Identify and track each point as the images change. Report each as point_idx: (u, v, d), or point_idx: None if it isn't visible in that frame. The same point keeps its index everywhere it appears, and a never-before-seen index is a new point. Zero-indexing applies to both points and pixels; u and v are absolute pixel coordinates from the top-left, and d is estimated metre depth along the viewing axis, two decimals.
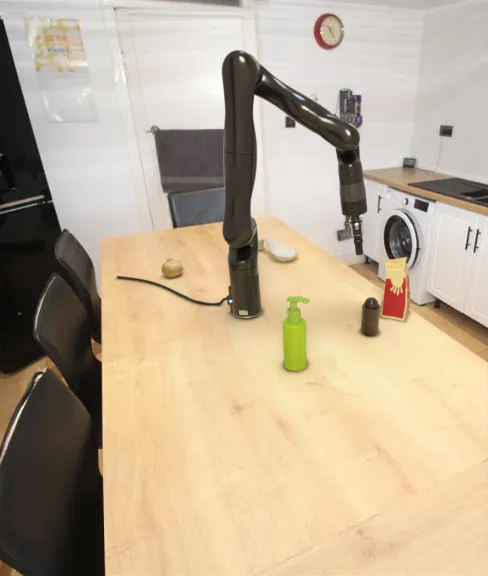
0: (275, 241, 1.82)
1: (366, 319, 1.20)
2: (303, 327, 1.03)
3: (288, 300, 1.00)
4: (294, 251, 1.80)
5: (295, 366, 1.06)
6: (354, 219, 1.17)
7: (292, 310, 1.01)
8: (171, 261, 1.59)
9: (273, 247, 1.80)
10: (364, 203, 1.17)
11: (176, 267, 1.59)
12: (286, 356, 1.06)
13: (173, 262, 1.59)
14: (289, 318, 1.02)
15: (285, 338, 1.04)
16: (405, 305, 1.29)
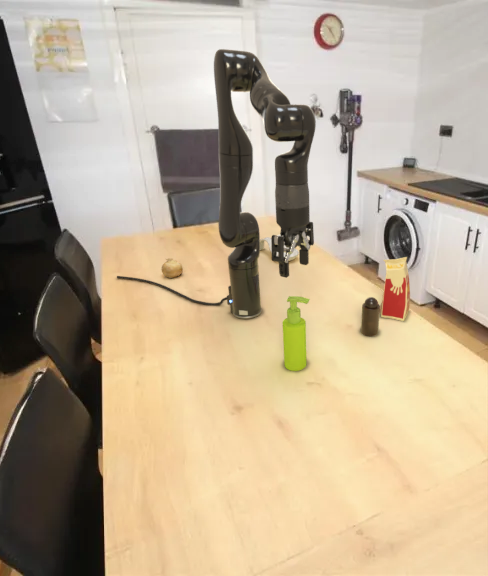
0: None
1: (366, 319, 1.20)
2: (303, 327, 1.03)
3: (288, 300, 1.00)
4: (294, 251, 1.80)
5: (295, 366, 1.06)
6: (282, 231, 0.90)
7: (292, 310, 1.01)
8: (171, 261, 1.59)
9: None
10: (298, 214, 0.88)
11: (176, 267, 1.59)
12: (286, 356, 1.06)
13: (173, 262, 1.59)
14: (289, 318, 1.02)
15: (285, 338, 1.04)
16: (405, 305, 1.29)
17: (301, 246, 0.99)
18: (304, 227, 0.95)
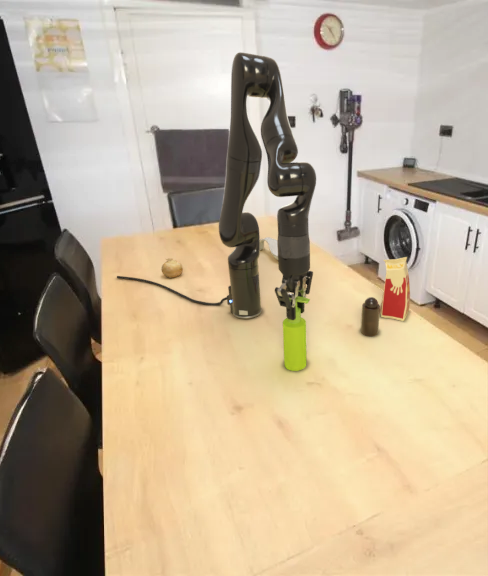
0: (275, 241, 1.82)
1: (366, 319, 1.20)
2: (303, 327, 1.03)
3: None
4: None
5: (295, 366, 1.06)
6: (284, 278, 0.95)
7: None
8: (171, 261, 1.59)
9: (273, 247, 1.80)
10: (299, 263, 0.93)
11: (176, 267, 1.59)
12: (286, 356, 1.06)
13: (173, 262, 1.59)
14: None
15: (285, 338, 1.04)
16: (405, 305, 1.29)
17: (297, 294, 1.02)
18: (305, 272, 1.00)
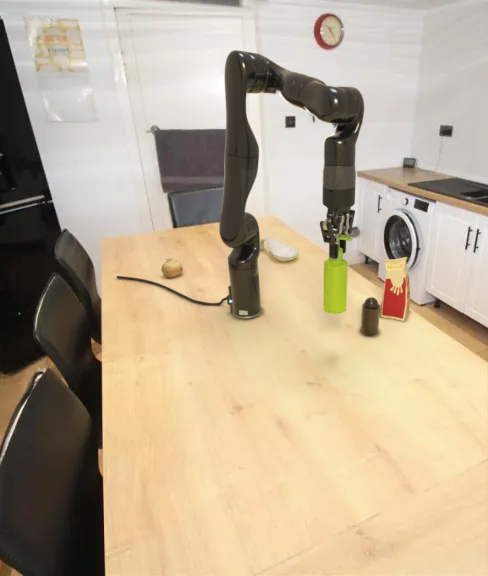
0: (275, 241, 1.82)
1: (366, 319, 1.20)
2: (345, 267, 1.00)
3: None
4: (294, 251, 1.80)
5: (336, 309, 1.04)
6: (329, 211, 0.92)
7: None
8: (171, 261, 1.59)
9: (273, 247, 1.80)
10: (346, 195, 0.90)
11: (176, 267, 1.59)
12: (327, 298, 1.03)
13: (173, 262, 1.59)
14: None
15: (326, 279, 1.01)
16: (405, 305, 1.29)
17: (339, 233, 1.00)
18: (348, 209, 0.98)
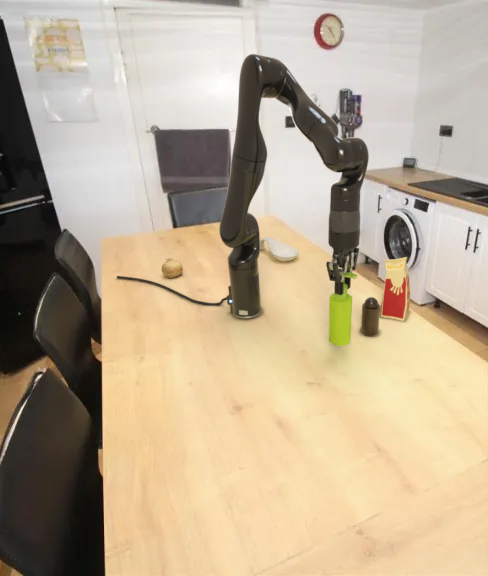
0: (275, 241, 1.82)
1: (366, 319, 1.20)
2: (350, 302, 1.05)
3: None
4: (294, 251, 1.80)
5: (341, 341, 1.09)
6: (335, 252, 0.97)
7: None
8: (171, 261, 1.59)
9: (273, 247, 1.80)
10: (351, 237, 0.95)
11: (176, 267, 1.59)
12: (332, 331, 1.08)
13: (173, 262, 1.59)
14: None
15: (332, 313, 1.06)
16: (405, 305, 1.29)
17: None
18: None
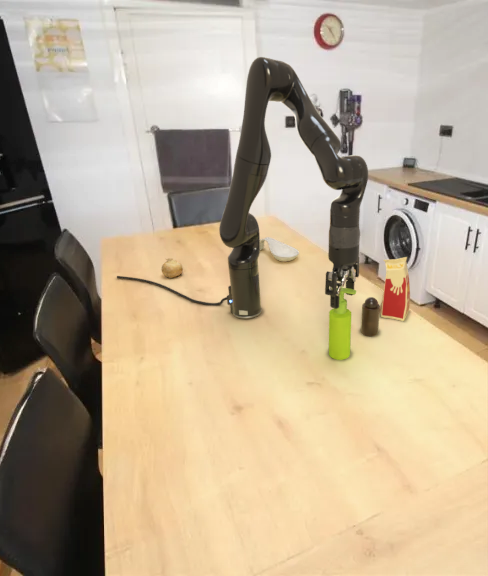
0: (275, 240, 1.82)
1: (366, 319, 1.20)
2: (349, 317, 1.07)
3: None
4: (294, 251, 1.80)
5: (340, 355, 1.11)
6: (335, 267, 0.99)
7: (339, 301, 1.06)
8: (171, 261, 1.59)
9: (273, 247, 1.80)
10: (350, 253, 0.97)
11: (176, 267, 1.59)
12: (332, 345, 1.10)
13: (173, 262, 1.59)
14: (336, 309, 1.06)
15: (332, 328, 1.08)
16: (405, 305, 1.29)
17: (348, 278, 1.08)
18: None
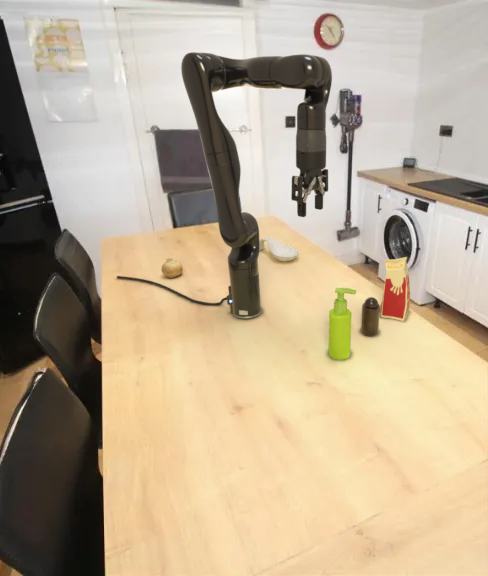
0: (276, 240, 1.82)
1: (366, 319, 1.20)
2: (349, 317, 1.07)
3: (336, 291, 1.05)
4: (294, 251, 1.80)
5: (340, 355, 1.11)
6: (301, 173, 1.00)
7: (339, 301, 1.06)
8: (171, 261, 1.59)
9: (273, 247, 1.80)
10: (316, 157, 0.98)
11: (176, 267, 1.59)
12: (332, 345, 1.10)
13: (173, 262, 1.59)
14: (336, 309, 1.06)
15: (332, 328, 1.08)
16: (405, 305, 1.29)
17: (317, 192, 1.09)
18: (320, 172, 1.05)
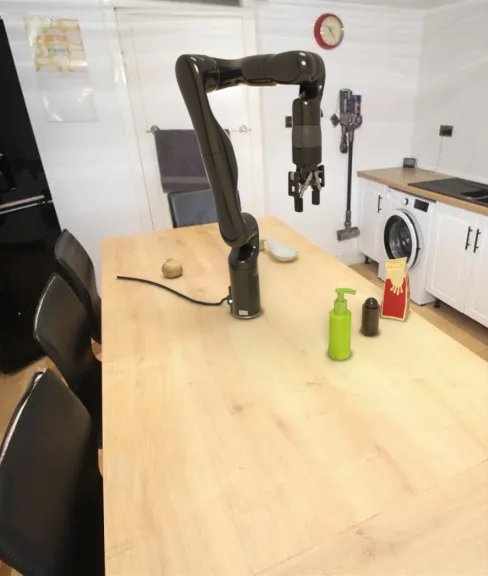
0: (276, 240, 1.82)
1: (366, 319, 1.20)
2: (349, 317, 1.07)
3: (336, 291, 1.05)
4: (294, 251, 1.80)
5: (340, 355, 1.11)
6: (297, 168, 1.01)
7: (339, 301, 1.06)
8: (171, 261, 1.59)
9: (273, 247, 1.80)
10: (312, 152, 0.99)
11: (176, 267, 1.59)
12: (332, 345, 1.10)
13: (173, 262, 1.59)
14: (336, 309, 1.06)
15: (332, 328, 1.08)
16: (405, 305, 1.29)
17: (313, 187, 1.10)
18: (316, 168, 1.06)
